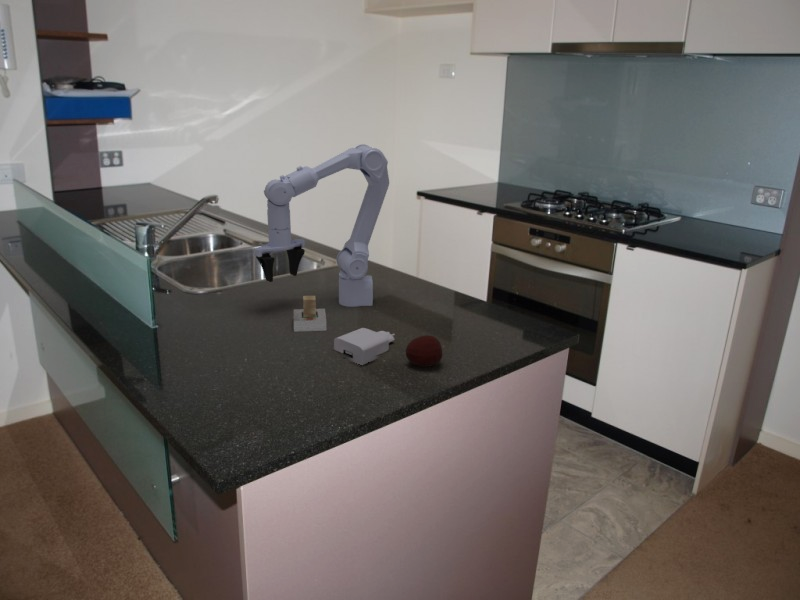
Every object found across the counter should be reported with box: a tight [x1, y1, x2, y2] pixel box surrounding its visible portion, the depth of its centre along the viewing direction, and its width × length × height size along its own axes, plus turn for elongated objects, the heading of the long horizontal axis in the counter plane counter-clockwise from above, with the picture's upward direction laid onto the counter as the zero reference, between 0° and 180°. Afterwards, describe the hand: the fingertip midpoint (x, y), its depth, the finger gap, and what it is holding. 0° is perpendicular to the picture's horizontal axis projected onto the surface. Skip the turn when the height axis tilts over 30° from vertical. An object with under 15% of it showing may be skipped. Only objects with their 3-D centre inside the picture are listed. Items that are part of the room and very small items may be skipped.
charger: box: [333, 327, 396, 366], centre depth 150 cm, size 5×9×15 cm
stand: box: [293, 308, 327, 333], centre depth 162 cm, size 12×12×4 cm
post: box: [302, 295, 317, 318], centre depth 161 cm, size 3×3×7 cm
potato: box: [405, 334, 443, 367], centre depth 144 cm, size 7×8×7 cm
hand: (281, 277), depth 169 cm, fingers open, 7 cm apart
